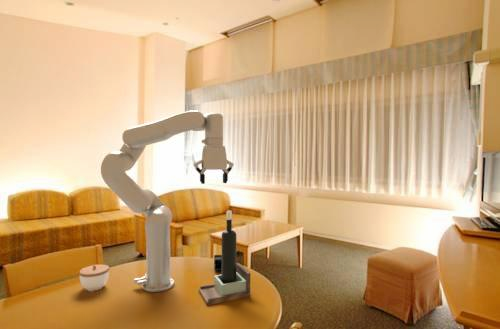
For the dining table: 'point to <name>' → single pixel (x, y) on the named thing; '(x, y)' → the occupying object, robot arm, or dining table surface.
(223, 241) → the wine bottle
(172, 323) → the dining table surface
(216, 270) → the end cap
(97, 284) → the lidded jar
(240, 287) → the socket block
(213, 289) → the rail board
